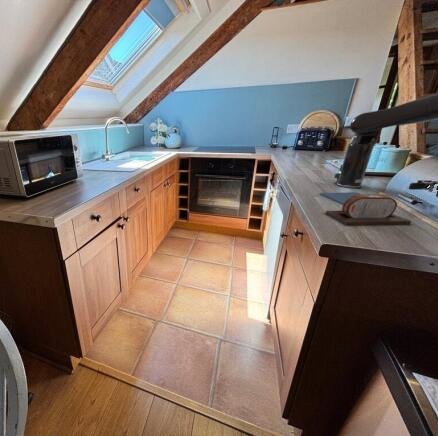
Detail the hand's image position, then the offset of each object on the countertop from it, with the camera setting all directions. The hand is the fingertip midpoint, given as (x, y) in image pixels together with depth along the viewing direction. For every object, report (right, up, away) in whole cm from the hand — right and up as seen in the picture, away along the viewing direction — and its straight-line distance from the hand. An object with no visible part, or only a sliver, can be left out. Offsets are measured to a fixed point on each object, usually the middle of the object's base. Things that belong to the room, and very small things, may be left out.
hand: (423, 189), depth 78 cm
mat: (-4, -1, +24) cm, 24 cm away
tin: (-15, -10, +4) cm, 18 cm away
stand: (-15, -9, +4) cm, 18 cm away
